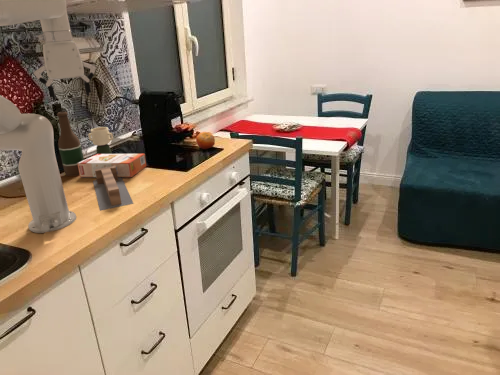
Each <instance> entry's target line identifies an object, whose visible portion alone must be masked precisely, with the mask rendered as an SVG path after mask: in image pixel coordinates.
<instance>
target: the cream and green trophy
mask: <svg viewBox="0 0 500 375" xmlns="http://www.w3.org/2000/svg"><path fill="white" fill-rule="evenodd" d="M109 130H110V129H109V128H108V127H107V126H100V127H99V126H98V127H95V128H91V129H90V132H89V133H88V135H87V136H88V140H89V141H91V142H92V143H93V145H94V146H96V148H95V149H96V154H113V153H112V150H111V147H110V145H109V144H110V143H111V141H114V135H113V132H110V131H109Z"/></svg>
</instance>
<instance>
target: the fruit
mask: <svg viewBox="0 0 500 375" xmlns="http://www.w3.org/2000/svg"><path fill="white" fill-rule="evenodd" d="M195 140H196V144H197V146H198V147H199V148H200V149H201V150H208V149H210V148H213V147H214V146H215V141H216V139H215V136H214V135H213V134H212V133H211V132H207V131H202V132H200V133H199V134H198V135H197V136H196V137H195Z"/></svg>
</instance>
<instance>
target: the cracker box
mask: <svg viewBox="0 0 500 375" xmlns="http://www.w3.org/2000/svg"><path fill="white" fill-rule="evenodd" d="M111 166H115V167H116V171H117V176H118V177H122V178H132V177H134V176H135V175H137V174H138V173H139V172H141V171H143V169H145V168H146V167H147V161H146V154H145V153H112V154H97V153H96V154H94V155H92V156H90V157H87V158H86V159H85V158H84V160H83V161H81V162H79V163H78V169H79V177H80V178H96V173H95V169H100V168H106V167H111Z"/></svg>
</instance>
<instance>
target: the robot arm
mask: <svg viewBox="0 0 500 375" xmlns="http://www.w3.org/2000/svg"><path fill="white" fill-rule="evenodd" d="M67 7H68V6H67V0H0V27H3V26H12V25H14V26H15V25H19V24H23V23H29V22H34V21H40V25H41V30H42V34H40V35H39V34H37V35H38V36H37V37H38V41H43V42H44V44H43V43H42V52H43V53H42V54H43V60H44V64H43V66H40V67H39V68H38V69H37V70H35V71H33V74H34V76H35V77H36V78H37V79H38V81H39V82H40V83H42V84H43V85H44V86H46V87H47V90H48V94H49V98H52V100H53V101H55V100H57V99H56V98H57V97H56V94H55V88H54V85H53V82H54V80H63V79H64V80H65V79H73V78H74V79H75V78H81V79H82V80H83V81H84V82H83V85H84V89H85V95H86V96H87V97H89V96H90V93H91V92H92V91H91V87H90V86H91V85H90V82H91V80H92V78H94V76H95V72H96V69H97V67H96V66H95V65H93V64H90V63H87V62H84V61H82V57H81V56H82V55H81V53H80V50H79V47H78V44H77V42H76V41H74V39H73V36H72V30H71V26H70V21H69V16H68V12H67ZM84 67H85V68H88V69H89V72H88V75H87V76H86V75H85V69H84ZM43 72H46V75H47V77H48V79H46V78H44V77H43V76H42V73H43ZM0 151H21V156H20V158H19V161H18V172H19V175H20V178H21V183H22V185H23V189H24V192H25V193H24V194H25V198H26V199H27V203H28V206H29V210H30V211H29V212H30V214H31V217H32V220H31V221H30V222H28V225H27V226H28V229H29V231H30V232H32V233H35V234H36V233H37V234H45V233H47V232H54V231H58V230H60V229H63V228H66V227H68V226H70V225H72V224H73V223H74V222H75V221H76V220H77V215H76V213H75V211H72V210H70V209H69V206H68V202H67V201H68V200H67V198H66V193H65V189H64V186H63V181H62V178H61V174H60V169H59V166H58V162H57V156H56V153H55V152H56V151H55V139H54V128H53V125H52V122H50V120H49V119H48V118H47V117H46V116H43V115H41V114H36V113H21V111H20V109H19V107H17V105H16V104H14V103H13V102H12V101H11V100H9V99H7V98H6V97H5V96H2V95H1V94H0Z"/></svg>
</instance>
